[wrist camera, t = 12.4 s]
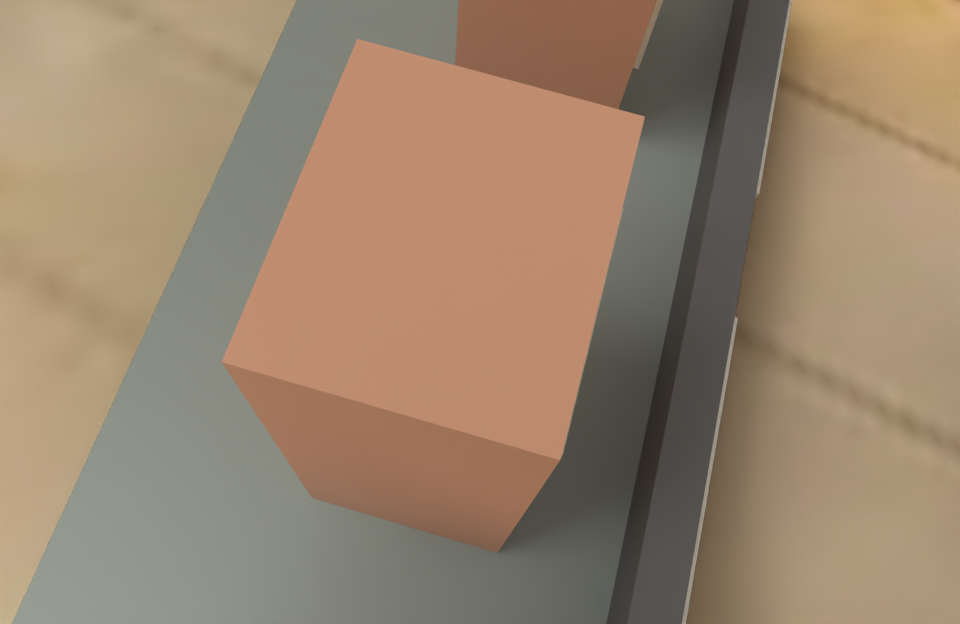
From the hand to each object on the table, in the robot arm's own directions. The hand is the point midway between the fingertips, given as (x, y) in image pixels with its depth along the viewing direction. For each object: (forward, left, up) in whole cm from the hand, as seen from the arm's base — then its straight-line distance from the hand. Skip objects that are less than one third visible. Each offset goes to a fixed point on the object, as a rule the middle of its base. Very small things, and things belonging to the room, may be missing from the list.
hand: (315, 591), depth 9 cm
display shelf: (-1, +11, -16) cm, 19 cm away
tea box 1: (0, +6, -13) cm, 14 cm away
